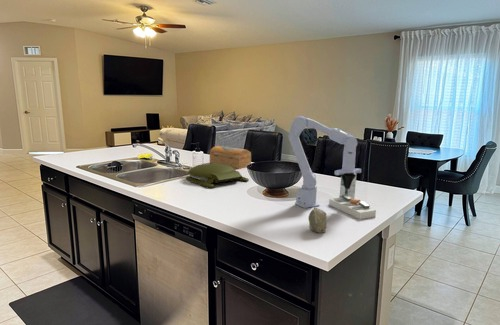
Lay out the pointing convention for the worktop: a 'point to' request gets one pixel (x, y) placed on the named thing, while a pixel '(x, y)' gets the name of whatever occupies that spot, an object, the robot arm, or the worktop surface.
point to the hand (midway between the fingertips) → (347, 188)
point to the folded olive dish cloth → (214, 174)
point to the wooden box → (230, 156)
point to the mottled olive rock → (317, 220)
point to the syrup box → (350, 191)
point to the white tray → (352, 208)
